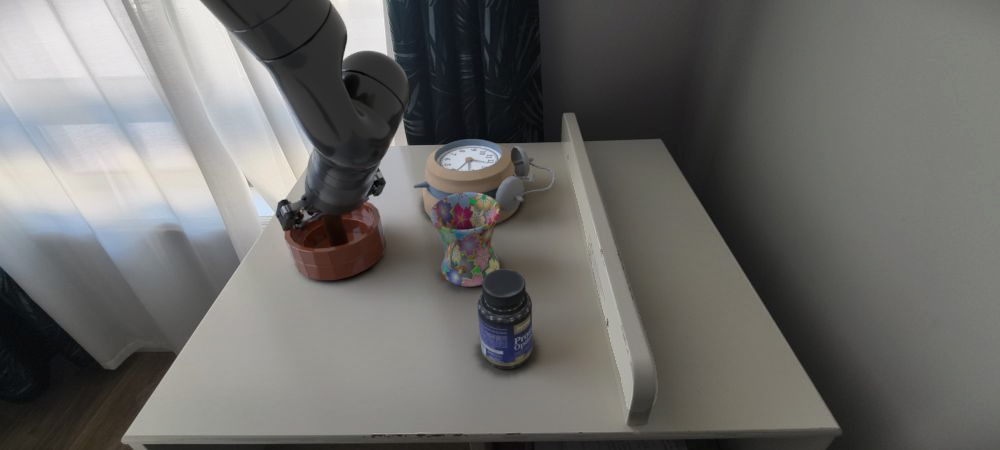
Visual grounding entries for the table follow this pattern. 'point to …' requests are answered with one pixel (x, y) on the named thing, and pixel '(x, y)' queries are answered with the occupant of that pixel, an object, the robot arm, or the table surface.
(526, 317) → the pill bottle
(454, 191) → the alarm clock
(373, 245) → the bowl
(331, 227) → the stick
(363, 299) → the table surface
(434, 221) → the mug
